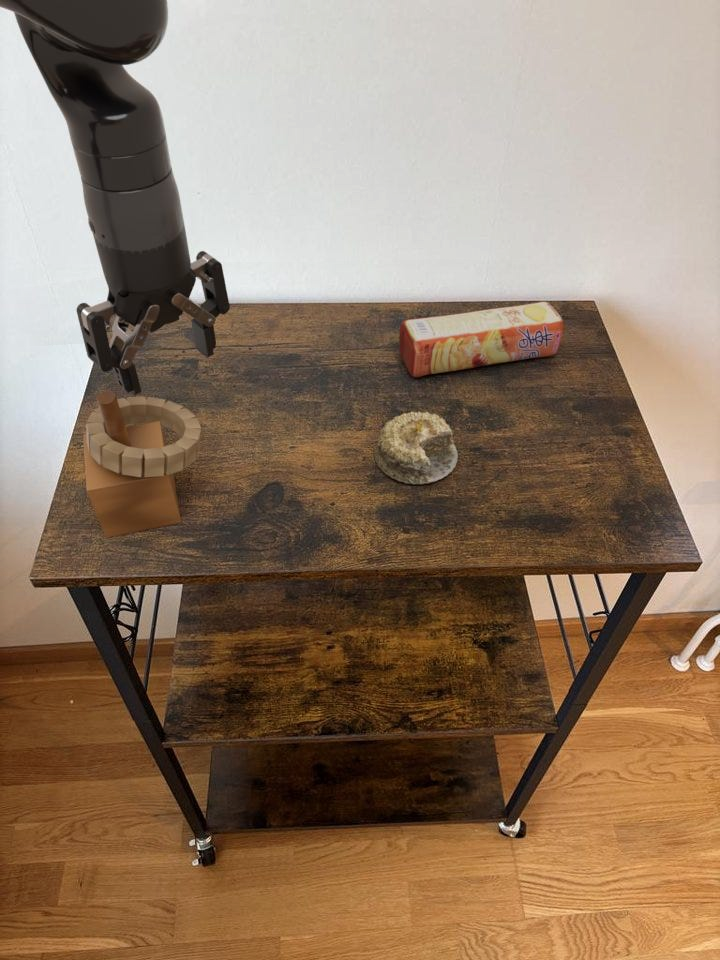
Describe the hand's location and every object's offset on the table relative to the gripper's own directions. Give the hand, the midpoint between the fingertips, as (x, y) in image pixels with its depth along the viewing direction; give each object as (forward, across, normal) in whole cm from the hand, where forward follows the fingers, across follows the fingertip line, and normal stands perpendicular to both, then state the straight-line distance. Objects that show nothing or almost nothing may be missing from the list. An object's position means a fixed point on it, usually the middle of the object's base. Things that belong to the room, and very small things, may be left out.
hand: (170, 370), depth 73 cm
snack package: (+15, +40, -9) cm, 44 cm away
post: (+15, -7, 0) cm, 17 cm away
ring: (+7, -5, 0) cm, 9 cm away
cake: (+15, +21, -16) cm, 30 cm away
